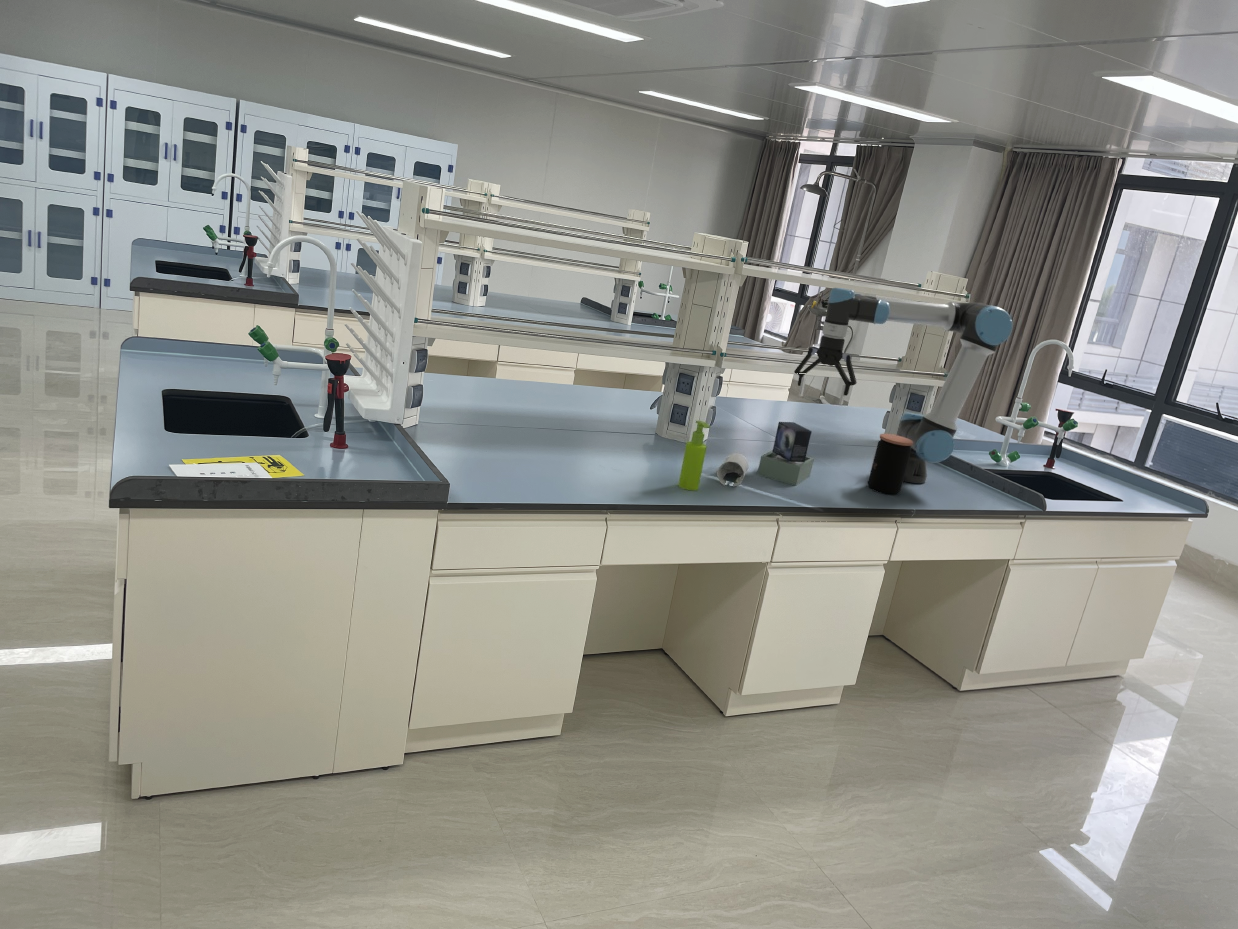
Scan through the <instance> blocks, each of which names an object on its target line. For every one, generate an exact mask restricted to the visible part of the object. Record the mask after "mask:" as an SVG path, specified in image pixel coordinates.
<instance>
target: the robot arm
mask: <svg viewBox="0 0 1238 929" xmlns="http://www.w3.org/2000/svg"><path fill="white" fill-rule="evenodd" d="M826 306H827V308H826V313H825V319H824V321H823V322H824V323H823V326H822V331H821V333H822V335H821V336H820V342H819V348H818V349H816V348H814V347H812V346H811V347H809V348H808V349H807V350H808V351H807V354H806V355H805V356H804V358H803V359H802V360H801V362H800V363H799V364H798V366H797V367H796V368H795V369H794V371H793V372H794V374H796V375H798V380H797V386H799V392H798V397H802V396H804V390H805V384H806V382H807V381H806V380H807V376H805V375H806V374H807V373H809V372H810V371H811V370H813V369H814V368H815V367H816V366H817V365H819V364H820V363H821V364H822V365H827V366H831V367H833V366H834V368H836V370H837V372H838V374H839V376H840V378H841V379H842V381H843V382H844V383H843V385H842V388H841V393H840V396H839V397H840V398H839V403H838V406H843V404H844V400H845V397H846V396H848V395H849V392H850V388H851V386H854V385H855V386H856V385H857V379H856V375H855V371H854V368H853V363H852V356H853V355H852V354H843V351H844V347H845V346H844V345H845V338H846V336H847V332H848V326H849V321H855V322H863V323H868V324H869V323H870V324H874V325H876V324H878V325H883V324H885V323H886V322H894V323H902V324H912V325H921V326H927V327H928V326H929V327H930V326H931V327H939V328H942V329H943V330H944V331H946V332H947V331H948V332H953V333H958V334H961V336H960V338H959V341H960V344H961V347H960V349H959V351H958V353H957V356H956V358H955V360H954V362H953V363H952V365H951V368H950V370H949V373H948V375H947V377H946V378H945V381H944V383H943V385H942V387H941V389H940V392H939V394H938V395H937V398H936V400H935V401H934V404H933V406H932V408H931V410H930V412H928V413H925V414H919V413H912V412H904V413H903V414H902V416H901V419H900V421H899V426H898V430H897V434H896V435H898V436H901V437H905V438H908V439H910V440H912V441H913V445H911V453H910V457H909V461H908V465H907V468H906V472H905V476H904V479H903V482H906V483H911V484H925V483H926V481H927V479H928V478H927V477H928V473H927V472H928V470H927V462H928V463H931V464H932V463H934V464H935V463H936V464H938V463H941V462H944V461H945V460H948V459H949V457H950V456H951V455H952V454H953V452H954V449H955V444H956V443H955V440H954V436H955V435H956V432H957V430H958V427H957V425H956V422H957V420H958V418H959V415H960V414H961V412H962V409H963V406H964V405H965V403H966V401H967V400H968V396H969V395H970V393H971V390H972V388H973V387H974V385H975V382H976V381H977V378H978V376H979V374H980V372H981V370H982V368H983V366H984V364H985V362H986V360H987V358H988V357H989V356H990V355H992V354H995V353H996V351H997V348H998V346H999V345H1001V344H1002V343H1005V342H1006V341H1007V340H1008V338H1010V336H1011V333H1012V332H1013V320H1012V318H1011V315H1010V314H1009V312H1008V311H1006V310H1005V309H1003V308H1001V307H1000V306H995V305H990V304H987V303H983V302H954V301H949V302H947V303H946V304H944V303H936V302H927V301H925V302H924V301H916V300H909V299H908V300H907V299H899V298H897V299H896V298H889V297H880V296H879V297H878V296H870V295H863V294H859V293H855V291H854V290H852V289H848V288H842V287H833V288H832V289H831V290H830V294H829V298H828V300H827V305H826ZM815 354H816V355H817V358H816V360H814V361H813V362H812V363H811V364H810V365H809V366H807V367H806V368H805V369H804V367H805V365H806V364H807V363H808V362H809V361H810V359H811V357H812V356H813V355H815ZM842 359H843V361H844V362H845V364H846V368H847V372H848V375H847V374H846V372H845V370H844V369H843V366H842V364H841V362H840V361H841V360H842ZM797 373H798V374H797ZM799 373H806V374H799ZM848 376H849V377H848Z"/></svg>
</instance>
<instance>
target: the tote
mask: <svg viewBox="0 0 1238 929" xmlns="http://www.w3.org/2000/svg"><path fill="white" fill-rule="evenodd" d="M772 451H773V449H772V450H770V451H768V452H766V453H765V454H761V456H760V460H759V464H758V470H757V474H756V475H757V476H760V477H763V478H766V479H771V480H775V481H778V482H781V483H785V484H788V485H792V486H795V487H797V486H798V485H799V484H801V483H803V482H804V481H806V480H807V479H809V478H810V476H811V473H812V469H813V465H814V462H815V458H814V457H810V456H807V455H806V459H805V462H803V463H802V464H800V465H794V464H791V463H787V462H784V461H780V460H776V459H773V457H775V456H777V454H776V453H774V452H772Z"/></svg>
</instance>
